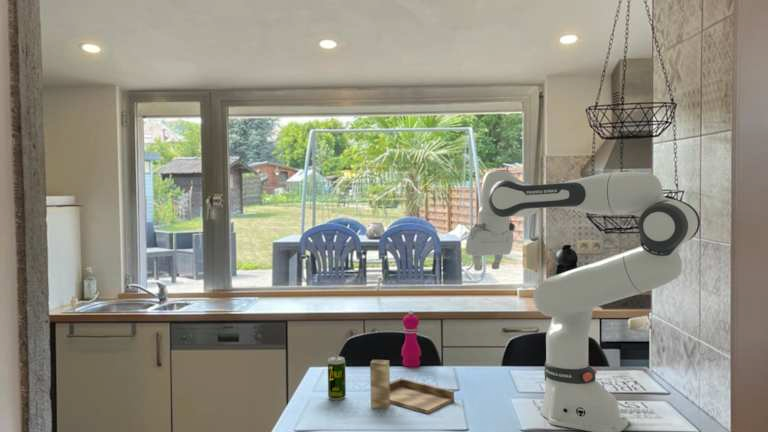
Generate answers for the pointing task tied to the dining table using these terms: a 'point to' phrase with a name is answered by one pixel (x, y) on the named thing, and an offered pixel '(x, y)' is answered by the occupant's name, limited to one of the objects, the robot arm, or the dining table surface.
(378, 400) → the plank offcut
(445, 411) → the dining table surface
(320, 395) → the dining table surface
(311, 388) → the dining table surface
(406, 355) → the pepper mill
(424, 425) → the dining table surface
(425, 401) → the wooden tray
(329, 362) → the beer can
